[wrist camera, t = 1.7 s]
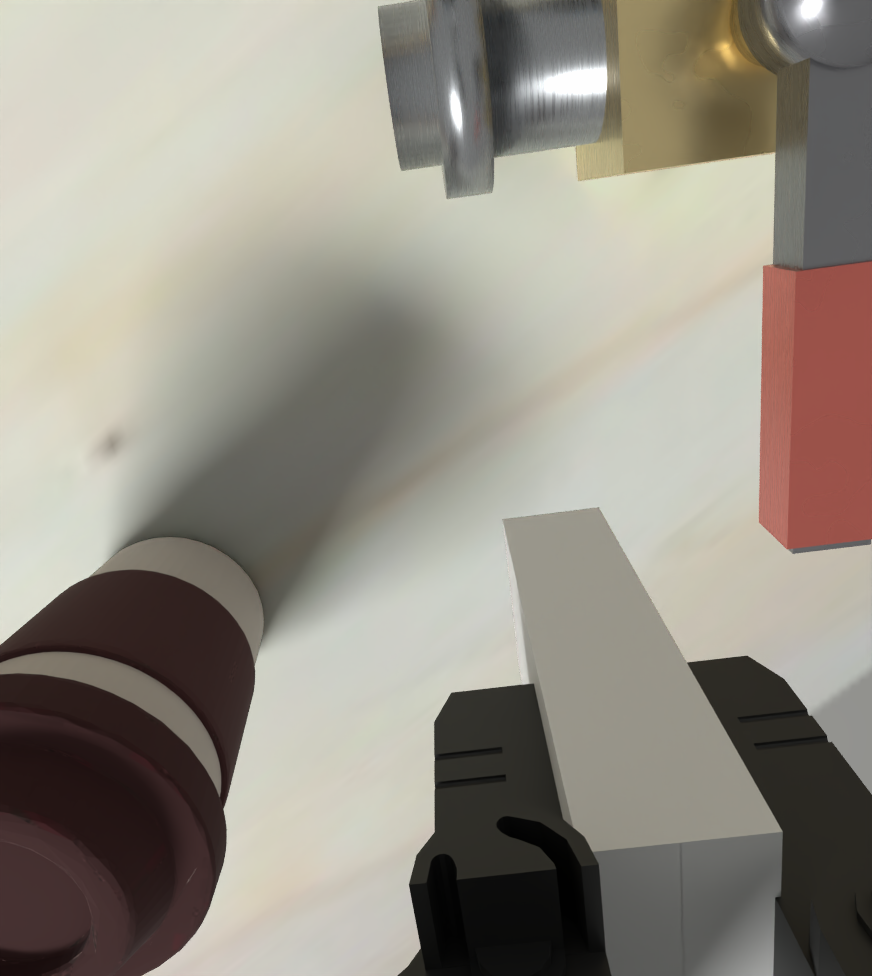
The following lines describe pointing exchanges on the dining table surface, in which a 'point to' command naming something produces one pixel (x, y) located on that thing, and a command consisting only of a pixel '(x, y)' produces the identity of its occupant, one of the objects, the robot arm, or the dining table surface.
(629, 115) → the valve
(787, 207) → the lever
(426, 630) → the dining table surface
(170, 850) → the coffee cup
